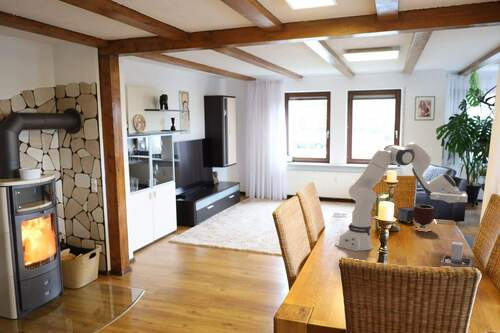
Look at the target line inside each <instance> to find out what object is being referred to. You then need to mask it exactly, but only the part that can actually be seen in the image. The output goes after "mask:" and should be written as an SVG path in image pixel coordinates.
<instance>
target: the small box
mask: <svg viewBox="0 0 500 333" xmlns="http://www.w3.org/2000/svg"><path fill="white" fill-rule="evenodd" d="M413 209H414V208H409V207H405V206H404V207H403V206H402V207H397V210H398V211H397V221H398V220H400V221H399V222H401V221H405V222H413V223H414V218H413Z"/></svg>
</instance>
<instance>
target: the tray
mask: <svg viewBox="0 0 500 333" xmlns="http://www.w3.org/2000/svg"><path fill="white" fill-rule="evenodd" d="M445 259H450V260H451V255H449V254H443V257H442V259H441V261H440V265H442V266H451V267H472V268H473V262H474V259H473V258H469V257H464V256H462V262H464V263H465V264H463V265H459V264H453V263H447V262H445Z"/></svg>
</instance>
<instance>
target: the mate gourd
mask: <svg viewBox="0 0 500 333" xmlns="http://www.w3.org/2000/svg"><path fill="white" fill-rule="evenodd" d="M412 209H413V221H415V223H417V224H419V225H420V226H419V227H420V228H426V227H427V225H429V224H430V225H431V223H432V222H433V220H434V217H435V209H434V206H433V205H429V204H417V203H414V206H413V208H412Z"/></svg>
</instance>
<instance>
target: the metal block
mask: <svg viewBox="0 0 500 333" xmlns="http://www.w3.org/2000/svg"><path fill="white" fill-rule="evenodd" d="M450 250H451V253H450V254H451V263H453V264H459V265H462V257H464V256H463V252H464V242H461V241H460V242H459V241H454V240H453V241H452V243H451V249H450Z"/></svg>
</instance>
